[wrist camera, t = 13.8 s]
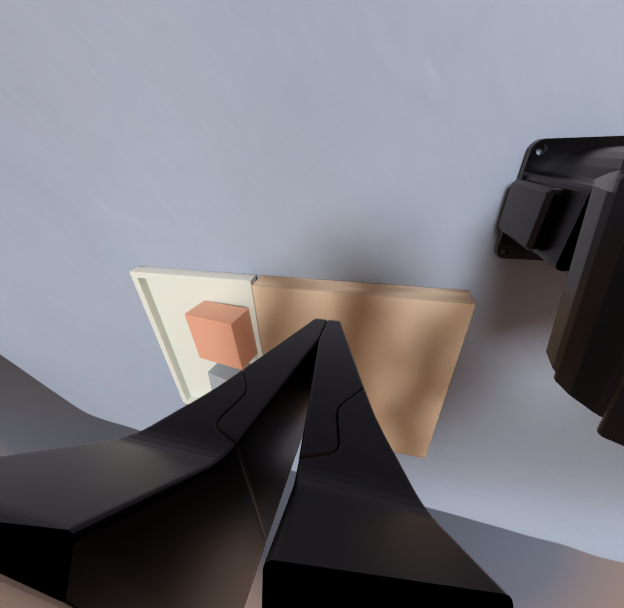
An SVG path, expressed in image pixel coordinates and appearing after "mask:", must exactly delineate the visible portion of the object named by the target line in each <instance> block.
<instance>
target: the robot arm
mask: <svg viewBox="0 0 624 608" xmlns="http://www.w3.org/2000/svg"><path fill="white" fill-rule="evenodd" d="M540 145H543V146H544V150H543V152H542V153H541V154H539V155H537V154H536V149H537V148H538V147H539V146H540ZM498 227H499V228H500V229H501V232H500V235H499V238H498V241H497V244H496V247H495V253H496V254H497V255H498V256H499V257H500V258H507V259H528V260H545V261H546V262H548V263H549V264H550V265H552V266H553V267H555V268H556V269H557V270H560V271H566V272H567V273H568V276H567V280H566V283H565V287H564V290H563V294H562V297H561V301H560V305H559V308H558V312H557V315H556V319H555V322H554V326H553V329H552V333H551V336H550V340H549V343H548V347H547V351H546V353H547V355H548V358H549V360H550V363H551V365H552V368H553V369H554V370H555V375H554V379H555V381H556V382H557V383H558V384H559V385H560V386H561V387H562V388H563V389H564V390H565V391H566V392H567V393H568V394H569V395H570V396H572V397H573V398H575V399H576V400H577V401H579V402H580V403H581V404H583V405H584V406H586V407H587V408H588V409H590V410H591V411H593V412H594V413H596V414H597V415H599V416H601V417H603V418H602V420H601V422H600V424H599V426H598V428H597V432H598V433H599V434H600V435H601V436H602V437H604V438H606V439H608V440H611V441H613V442H616V443H618V444H620V445H623V446H624V136H607V137H580V138H552V139H539V140H536V141H535V142H533V143H532V144H531V145H530V146H529V148H528V150H527V153H526V156H525V159H524V162H523V165H522V168H521V171H520V174H519V177H518V179H517V180H515V181H514V182H513V183H512V184H511V187H510V190H509V193H508V196H507V200H506V203H505V206H504V209H503V212H502V215H501V218H500V221H499V224H498ZM505 247H508V250H507V251H506V252H503V253H502V252H501V250H502V249H503V248H505ZM302 435H303V438H302ZM301 438H302V444H301V450H300V456H299V463H298V468H297V473H296V478H295V483H294V486H293V489H292V492H291V495H290V497H289V500H288V503H287V505H286V508H285V511H284V513H283V516H282V519H281V521H280V524H279V527H278V529H277V532H276V535H275V537H274V540H273V542H272V545H271V548H270V550H269V553H268V556H267V558H266V561H265V564H264V567H263V587H262V608H513V602H512V599H511V597H510V596H509V595H508V594H507V593H506V592H505V591H504V590H503V589H502V588H501V587H500V586H499V585H498V584H497V583H496V582H495V581H494V580H493V579H492V578H491V577H490V576H489V575H488V574H487V573H486V572H485V571H484V570H483V569H482V568H481V567H480V566H479V565H478V564H477V563H476V562H475V561H474V559H473V558H472V557H470V555H469V554H468V553H466V551H465V550H464V549H463V548H462V547H461V546H460V545H459V544H458V543H457V542H456V541H455V540H454V539H453V538H452V537H451V536H450V535H449V534H448V533H447V532H446V531H445V530H444V529H443V528H442V527H441V526H440V525H439V524H438V523H437V522H436V520H435V519H434V518H432V516H431V515H430V513H429V512H428V511H427V509H426V508H425V507H424V505H423V504H422V502H421V501H420V499H419V497H418V496H417V494H416V492H415V491H414V489H413V487H412V485H411V484H410V482H409V480H408V478H407V476H406V474H405V472H404V470H403V469H402V467H401V465H400V463H399V461H398V459H397V457H396V456H395V454H394V452H393V450H392V448H391V446H390V444H389V442H388V441H387V439H386V437H385V435H384V433H383V431H382V429H381V427H380V425H379V423H378V421H377V419H376V417H375V414H374V412H373V409H372V407H371V404H370V402H369V399H368V396H367V394H366V391H365V389H364V386H363V383H362V380H361V377H360V375H359V372H358V369H357V366H356V364H355V361H354V358H353V355H352V352H351V350H350V347H349V344H348V341H347V339H346V336H345V333H344V330H343V327H342V325H341V322H340V321H335V320H328V321H327V320H325V319H314V320H312V321H311V322H309V323H308V324H307V325H305V326H304V327H302V328H301V329H300V330H298V331H297V332H295V333H294V334H292V335H291V336H290V337H288V338H287V339H285V340H284V341H282V342H281V343H280V344H278V345H277V346H275V347H274V348H273V349H271V350H270V351H268V352H267V353H265V354H264V355H263V356H261V357H260V358H258V359H257V360H255V361H254V362H253V363H251V364H250V365H248V366H247V367H246V368H244V369H243V371H242V370H241V371H240V372H238V373H237V374H235V375H234V376H233V377H231V378H230V379H228V380H227V381H225V382H224V383H222V384H221V385H219V386H218V387H216V388H215V389H213V390H211V391H210V392H208V393H206V394H205V395H203V396H201V397H200V398H198V399H196V400H195V401H193V402H191V403H190V404H188V405H186V406H184V407H183V408H181V409H179V410H177V411H176V412H174V413H172V414H171V415H169V416H167V417H165V418H164V419H162V420H160V421H159V422H157V423H155V424H153V425H152V426H150V427H148V428H146V429H144V430H142V431H140V432H138V433H135V434H133V435H130V436H127V437H124V438H119V439H115V440H110V441H103V442H96V443H90V444H83V445H76V446H69V447H62V448H56V449H49V450H42V451H35V452H29V453H22V454H15V455H8V456H1V457H0V608H244V606H245V603H246V601H247V598H248V595H249V592H250V589H251V586H252V583H253V580H254V577H255V574H256V571H257V568H258V565H259V562H260V559H261V556H262V554H263V551H264V548H265V542H266V541H267V538H268V536H269V532H270V530H271V526H272V524H273V521H274V518H275V515H276V512H277V509H278V506H279V503H280V500H281V497H282V494H283V491H284V488H285V485H286V482H287V479H288V477H289V473H290V471H291V468H292V465H293V462H294V459H295V456H296V453H297V450H298V447H299V444H300V441H301Z"/></svg>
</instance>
